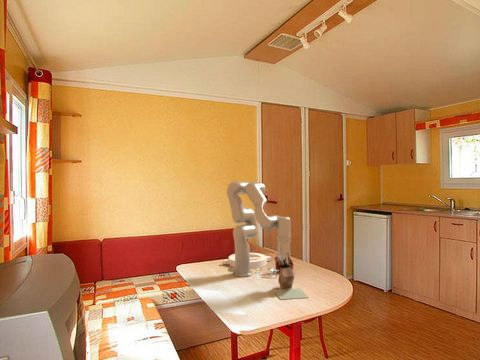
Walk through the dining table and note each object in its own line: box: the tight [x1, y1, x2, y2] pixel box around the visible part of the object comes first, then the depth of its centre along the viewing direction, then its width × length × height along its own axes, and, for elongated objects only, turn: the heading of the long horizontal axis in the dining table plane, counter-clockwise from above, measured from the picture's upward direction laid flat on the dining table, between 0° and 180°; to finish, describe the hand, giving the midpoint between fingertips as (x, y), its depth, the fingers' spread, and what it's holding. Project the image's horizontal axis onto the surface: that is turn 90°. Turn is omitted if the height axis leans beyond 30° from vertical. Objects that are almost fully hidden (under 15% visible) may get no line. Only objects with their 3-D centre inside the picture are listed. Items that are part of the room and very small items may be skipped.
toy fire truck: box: [274, 256, 294, 273], centre depth 195 cm, size 7×12×10 cm, turn 101°
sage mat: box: [273, 287, 309, 301], centre depth 156 cm, size 15×13×1 cm
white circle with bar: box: [222, 252, 272, 269], centre depth 218 cm, size 28×28×5 cm
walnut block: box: [277, 268, 295, 290], centre depth 163 cm, size 6×6×10 cm
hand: (284, 271), depth 166 cm, fingers closed
